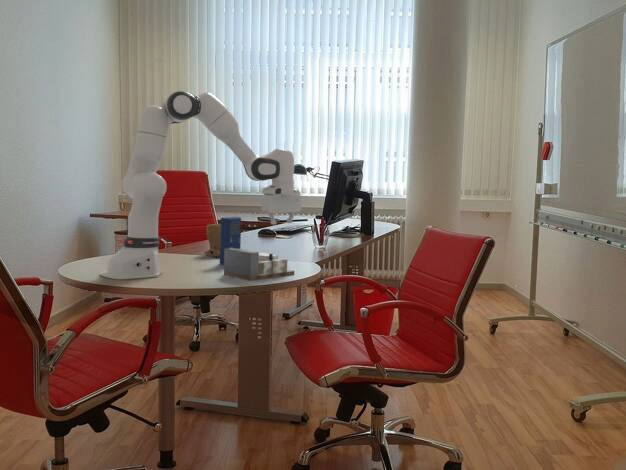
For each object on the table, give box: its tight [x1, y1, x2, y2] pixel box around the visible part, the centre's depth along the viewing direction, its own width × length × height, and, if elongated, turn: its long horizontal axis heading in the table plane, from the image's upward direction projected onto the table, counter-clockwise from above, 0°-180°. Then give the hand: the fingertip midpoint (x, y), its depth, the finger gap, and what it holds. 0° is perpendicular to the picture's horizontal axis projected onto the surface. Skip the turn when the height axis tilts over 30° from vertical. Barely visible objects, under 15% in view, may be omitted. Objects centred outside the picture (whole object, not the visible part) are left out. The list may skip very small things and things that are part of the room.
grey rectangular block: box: [223, 248, 260, 277], centre depth 248 cm, size 4×15×9 cm, turn 48°
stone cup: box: [204, 223, 221, 258], centre depth 303 cm, size 15×12×15 cm
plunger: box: [259, 252, 279, 262], centre depth 257 cm, size 6×12×6 cm, turn 48°
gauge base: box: [223, 258, 295, 282], centre depth 255 cm, size 24×15×6 cm, turn 138°
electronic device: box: [219, 216, 242, 266], centre depth 280 cm, size 10×5×20 cm, turn 152°
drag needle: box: [268, 253, 274, 260], centre depth 250 cm, size 1×1×2 cm, turn 48°
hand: (281, 223), depth 263 cm, fingers open, 8 cm apart
